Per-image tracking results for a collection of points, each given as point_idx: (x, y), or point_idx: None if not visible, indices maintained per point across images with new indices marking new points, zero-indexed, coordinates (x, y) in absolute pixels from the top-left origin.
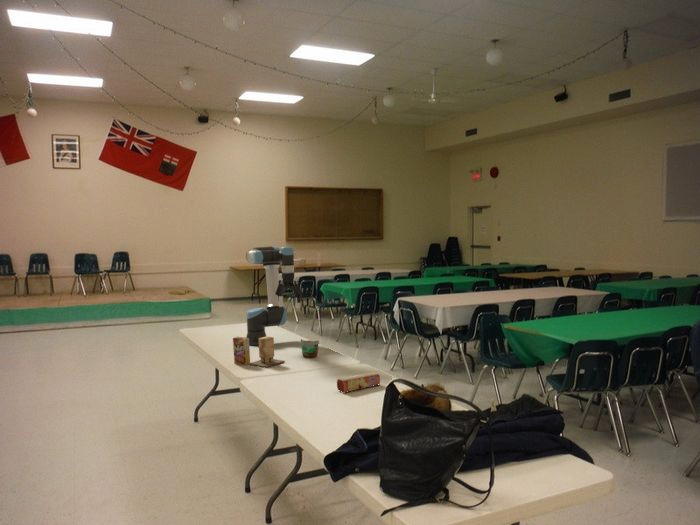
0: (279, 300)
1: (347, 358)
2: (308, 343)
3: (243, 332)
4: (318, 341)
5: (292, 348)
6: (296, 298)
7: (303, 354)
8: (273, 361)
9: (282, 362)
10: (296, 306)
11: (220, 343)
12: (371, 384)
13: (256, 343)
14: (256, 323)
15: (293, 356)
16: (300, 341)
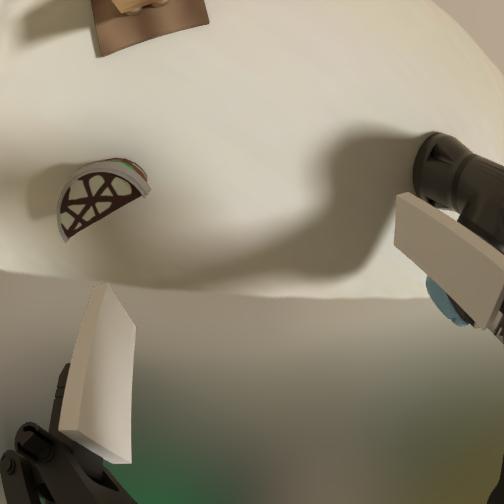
0: (464, 234)
1: (25, 270)
2: (65, 186)
3: None
4: (65, 240)
5: (292, 206)
6: (61, 415)
7: (114, 159)
8: (130, 16)
9: (100, 45)
10: (93, 303)
11: (491, 112)
12: None
13: (426, 148)
14: (482, 180)
15: (165, 132)
16: (118, 170)
